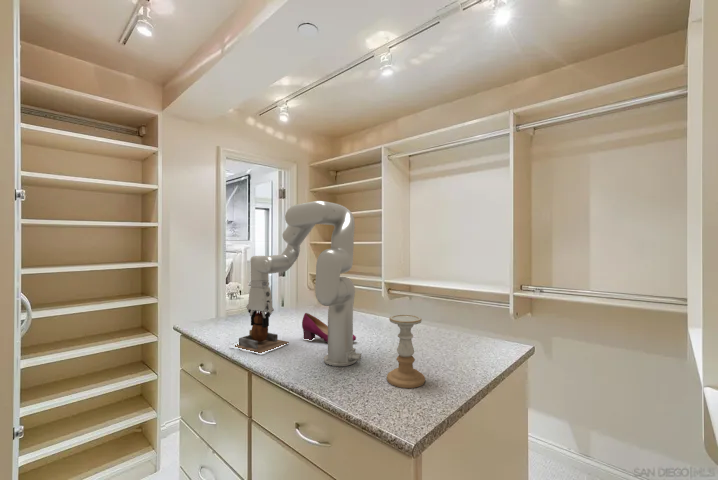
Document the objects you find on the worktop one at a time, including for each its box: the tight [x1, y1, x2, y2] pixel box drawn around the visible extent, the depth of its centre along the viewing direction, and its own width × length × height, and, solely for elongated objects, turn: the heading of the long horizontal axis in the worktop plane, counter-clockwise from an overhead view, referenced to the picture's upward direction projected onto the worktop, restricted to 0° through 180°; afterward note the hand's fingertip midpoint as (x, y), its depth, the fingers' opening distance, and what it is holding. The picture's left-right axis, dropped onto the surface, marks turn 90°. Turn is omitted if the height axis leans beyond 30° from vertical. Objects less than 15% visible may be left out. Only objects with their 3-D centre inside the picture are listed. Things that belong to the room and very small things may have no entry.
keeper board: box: [235, 329, 290, 353], centre depth 140 cm, size 19×16×6 cm
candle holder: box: [386, 314, 426, 389], centre depth 105 cm, size 12×12×20 cm
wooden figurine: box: [250, 311, 269, 342], centre depth 140 cm, size 7×6×15 cm
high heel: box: [301, 312, 357, 344], centre depth 147 cm, size 9×26×12 cm, turn 80°
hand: (259, 325), depth 140 cm, fingers closed on wooden figurine, 6 cm apart
